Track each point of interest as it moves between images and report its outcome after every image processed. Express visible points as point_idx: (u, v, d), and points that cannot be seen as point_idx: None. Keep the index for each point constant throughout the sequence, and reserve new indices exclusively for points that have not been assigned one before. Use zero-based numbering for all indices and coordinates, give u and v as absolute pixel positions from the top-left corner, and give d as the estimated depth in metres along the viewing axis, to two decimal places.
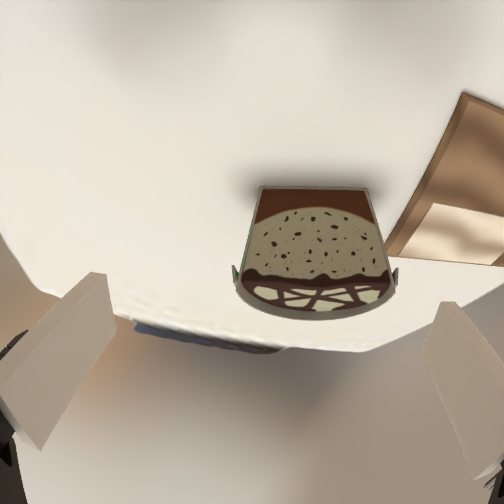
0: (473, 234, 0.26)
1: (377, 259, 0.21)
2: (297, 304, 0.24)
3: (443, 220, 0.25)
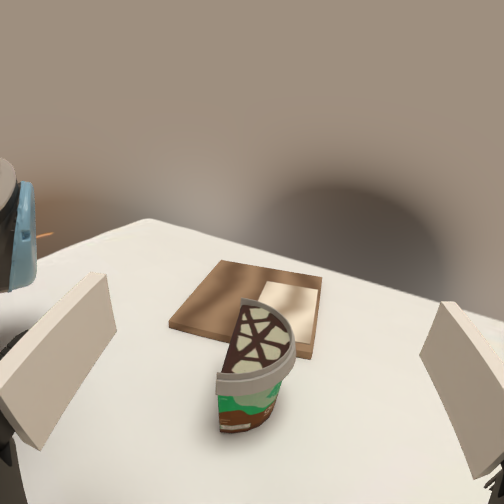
0: (279, 307, 0.46)
1: None
2: (275, 352, 0.25)
3: None
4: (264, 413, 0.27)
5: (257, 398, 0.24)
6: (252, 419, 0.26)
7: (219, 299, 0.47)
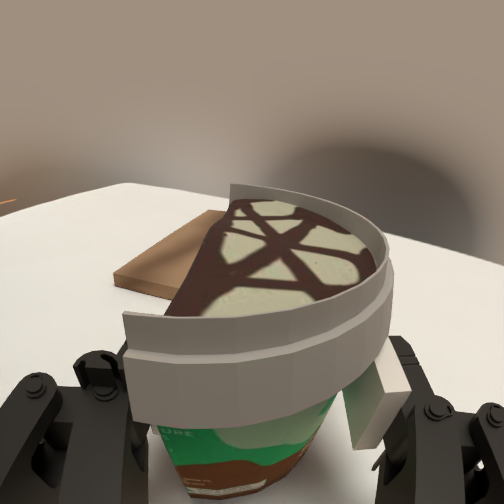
0: None
1: None
2: (341, 269, 0.08)
3: None
4: (300, 452, 0.09)
5: (295, 422, 0.07)
6: (273, 471, 0.09)
7: None
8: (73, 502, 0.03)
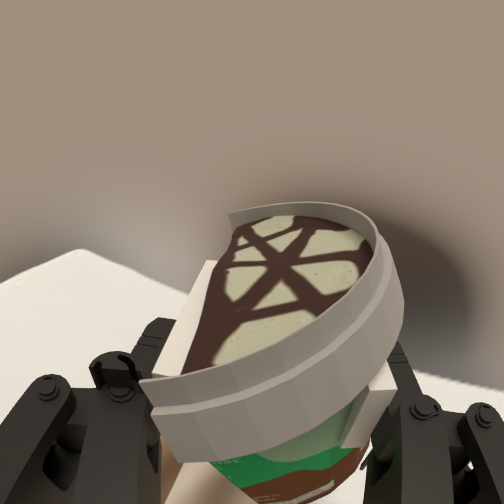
0: None
1: None
2: (341, 272, 0.08)
3: None
4: None
5: (335, 427, 0.07)
6: (337, 471, 0.09)
7: None
8: None
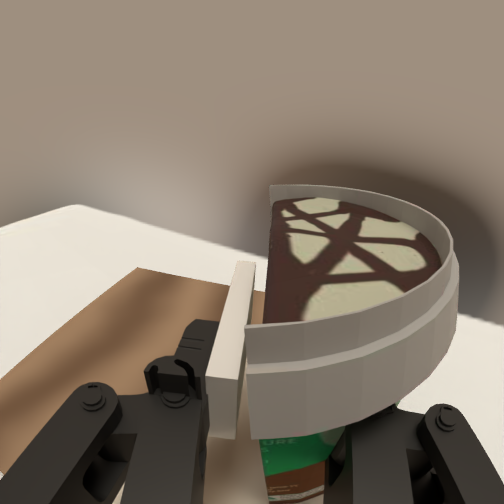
0: (240, 418, 0.13)
1: None
2: (406, 255, 0.08)
3: None
4: None
5: None
6: None
7: (81, 376, 0.14)
8: None
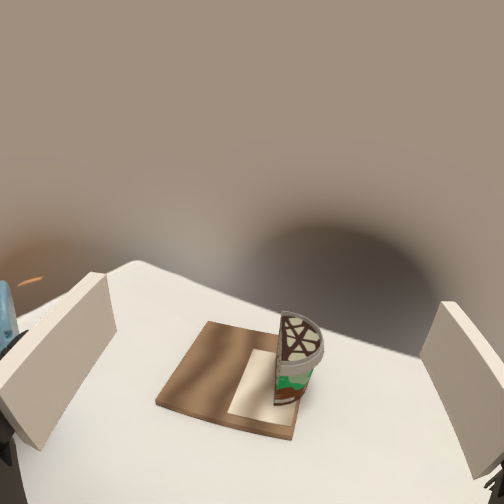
0: (263, 382, 0.44)
1: (280, 329, 0.45)
2: (311, 346, 0.39)
3: (246, 404, 0.39)
4: (303, 389, 0.40)
5: (302, 377, 0.37)
6: (296, 393, 0.39)
7: (204, 373, 0.45)
8: None
